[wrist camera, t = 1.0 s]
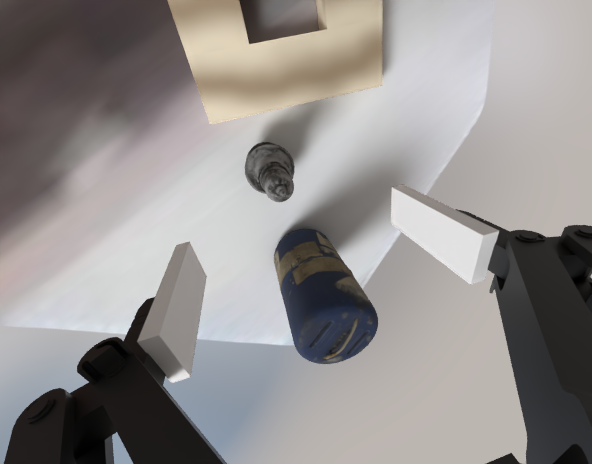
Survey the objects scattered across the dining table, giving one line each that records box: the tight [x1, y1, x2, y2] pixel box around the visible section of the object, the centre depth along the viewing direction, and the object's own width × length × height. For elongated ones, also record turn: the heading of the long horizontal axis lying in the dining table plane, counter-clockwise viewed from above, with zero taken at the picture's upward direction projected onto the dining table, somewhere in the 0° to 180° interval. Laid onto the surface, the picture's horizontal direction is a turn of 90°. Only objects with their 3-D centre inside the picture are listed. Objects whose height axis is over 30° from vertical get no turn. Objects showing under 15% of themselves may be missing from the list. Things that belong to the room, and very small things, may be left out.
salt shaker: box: [245, 142, 294, 202], centre depth 26 cm, size 6×6×12 cm
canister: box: [274, 229, 378, 364], centre depth 31 cm, size 10×10×18 cm
